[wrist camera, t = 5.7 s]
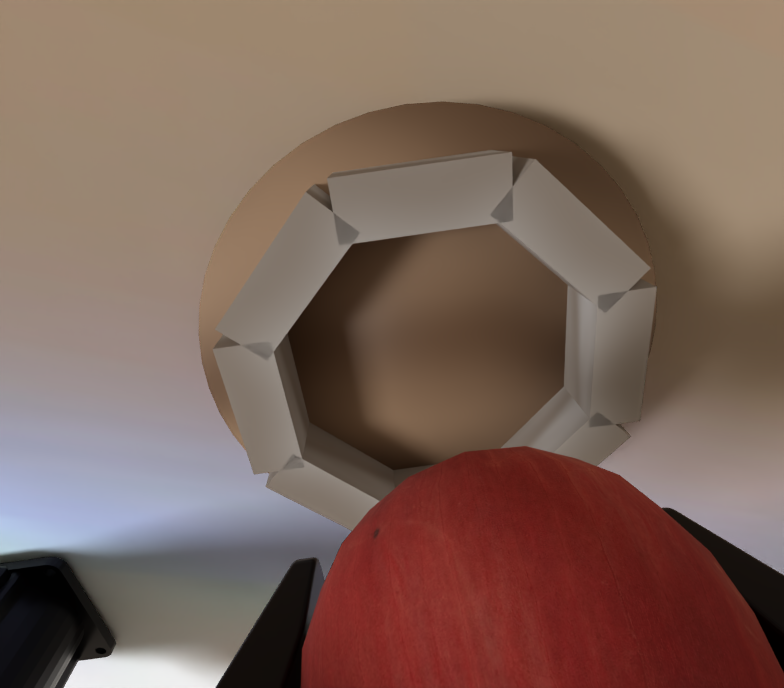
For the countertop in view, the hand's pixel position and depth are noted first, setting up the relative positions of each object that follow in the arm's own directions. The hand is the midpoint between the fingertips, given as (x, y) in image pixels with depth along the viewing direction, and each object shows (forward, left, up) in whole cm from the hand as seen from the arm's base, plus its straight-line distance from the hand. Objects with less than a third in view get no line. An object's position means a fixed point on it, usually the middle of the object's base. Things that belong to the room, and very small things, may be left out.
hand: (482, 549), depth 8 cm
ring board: (0, 0, -9) cm, 9 cm away
